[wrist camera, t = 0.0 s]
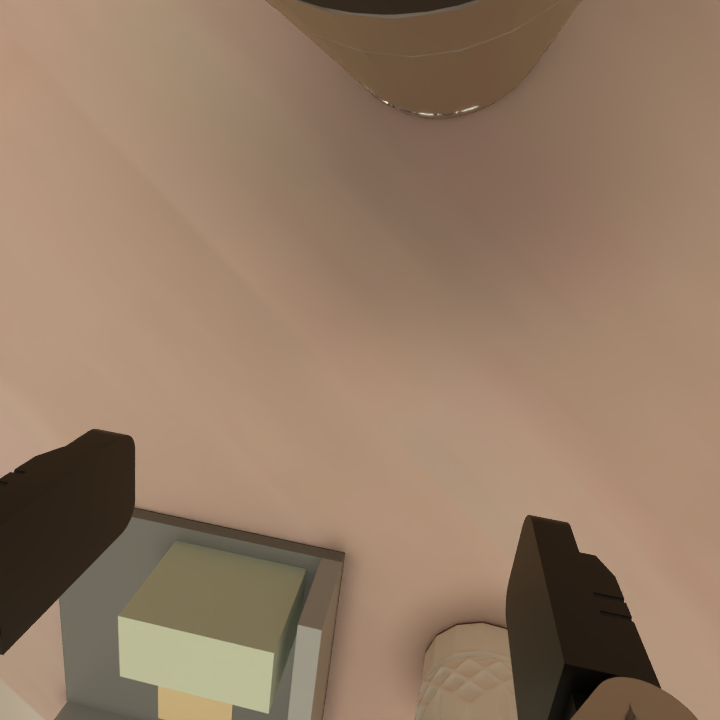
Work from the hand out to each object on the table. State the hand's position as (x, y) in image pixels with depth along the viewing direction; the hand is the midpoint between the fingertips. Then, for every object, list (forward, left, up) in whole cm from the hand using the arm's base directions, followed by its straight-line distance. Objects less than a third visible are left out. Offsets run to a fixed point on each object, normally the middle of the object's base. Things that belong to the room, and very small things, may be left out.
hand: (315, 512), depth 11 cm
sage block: (+18, -7, -16) cm, 25 cm away
